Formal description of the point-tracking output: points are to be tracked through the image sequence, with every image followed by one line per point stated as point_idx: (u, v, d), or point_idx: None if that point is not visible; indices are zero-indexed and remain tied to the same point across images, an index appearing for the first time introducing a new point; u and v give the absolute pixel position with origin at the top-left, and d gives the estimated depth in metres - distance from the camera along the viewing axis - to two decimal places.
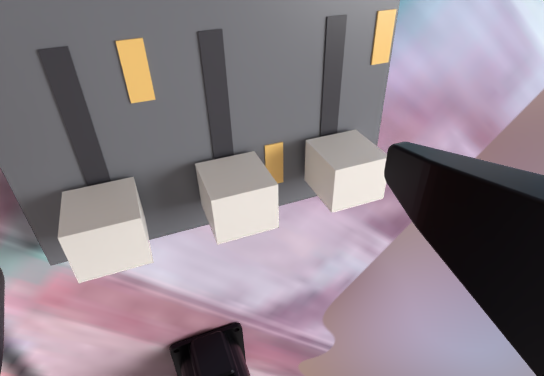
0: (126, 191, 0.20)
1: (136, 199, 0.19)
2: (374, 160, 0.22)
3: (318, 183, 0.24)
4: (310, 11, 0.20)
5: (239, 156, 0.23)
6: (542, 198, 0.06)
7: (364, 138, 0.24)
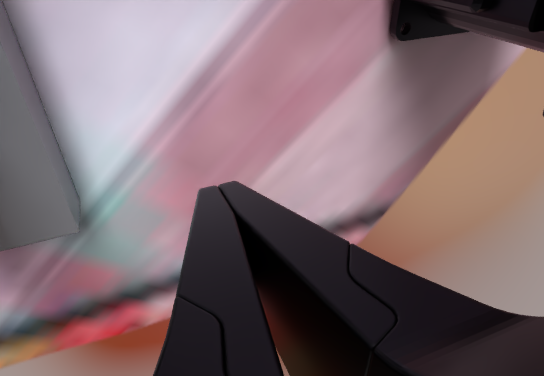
0: None
1: None
2: None
3: None
4: None
5: None
6: (306, 274, 0.05)
7: None
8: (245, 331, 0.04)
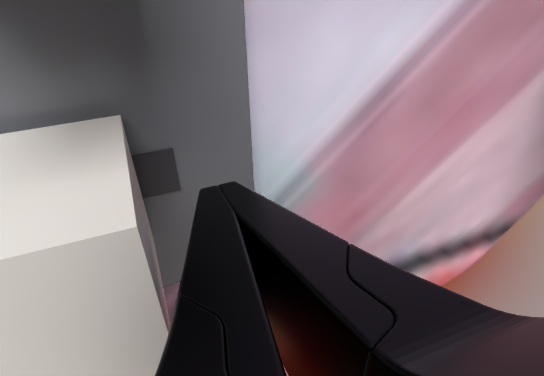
0: None
1: None
2: None
3: None
4: None
5: None
6: (305, 274, 0.05)
7: None
8: (247, 330, 0.04)
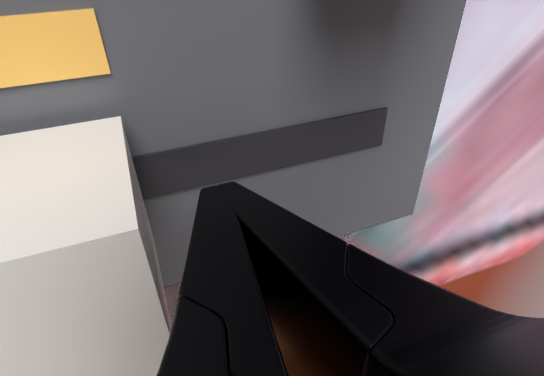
0: None
1: None
2: None
3: None
4: None
5: None
6: (304, 274, 0.05)
7: None
8: (248, 329, 0.04)
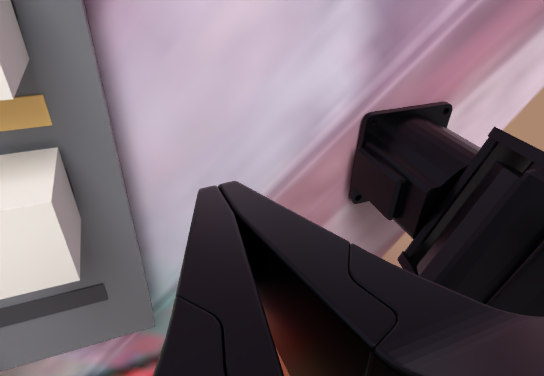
0: None
1: None
2: None
3: None
4: None
5: None
6: (306, 274, 0.05)
7: None
8: (245, 331, 0.04)
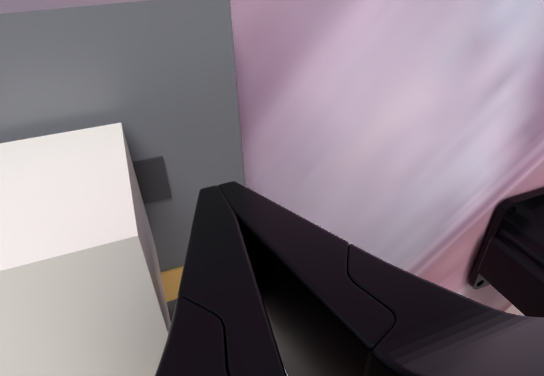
0: None
1: None
2: None
3: None
4: None
5: None
6: (305, 274, 0.05)
7: None
8: (247, 330, 0.04)
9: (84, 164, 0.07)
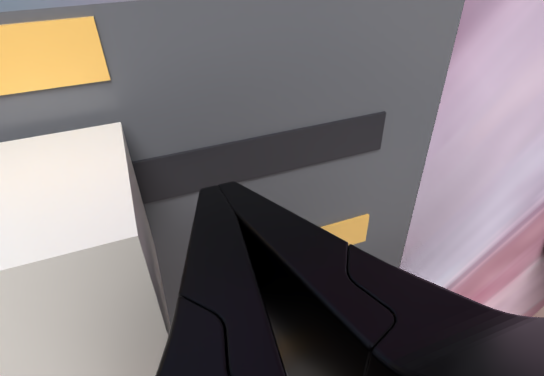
0: None
1: None
2: None
3: None
4: None
5: None
6: (305, 274, 0.05)
7: None
8: (247, 330, 0.04)
9: (83, 163, 0.07)
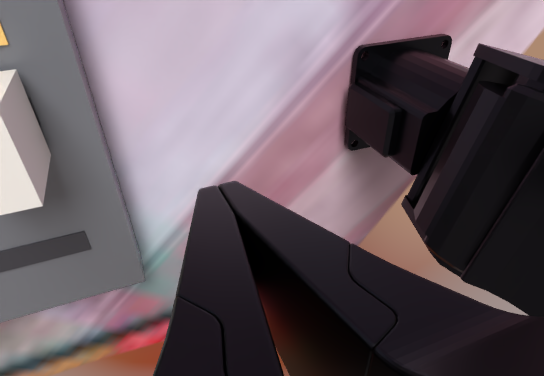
0: None
1: None
2: None
3: None
4: None
5: None
6: (307, 274, 0.05)
7: None
8: (245, 331, 0.04)
9: None
